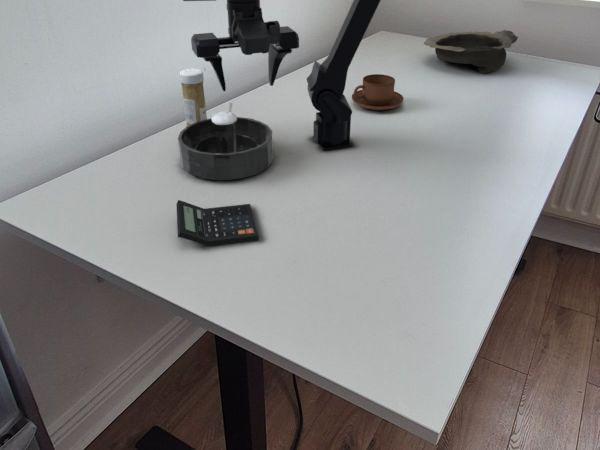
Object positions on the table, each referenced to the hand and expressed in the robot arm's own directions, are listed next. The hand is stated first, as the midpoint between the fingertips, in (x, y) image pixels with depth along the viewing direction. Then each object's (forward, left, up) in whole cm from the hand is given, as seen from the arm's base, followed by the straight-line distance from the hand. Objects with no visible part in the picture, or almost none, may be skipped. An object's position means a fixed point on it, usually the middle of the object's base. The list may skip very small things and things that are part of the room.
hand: (247, 87), depth 103 cm
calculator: (+13, +27, -12) cm, 32 cm away
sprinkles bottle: (+9, -9, -12) cm, 18 cm away
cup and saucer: (-34, -12, -12) cm, 38 cm away
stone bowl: (-72, -32, -12) cm, 80 cm away
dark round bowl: (+6, +5, -12) cm, 14 cm away
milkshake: (+6, +5, -12) cm, 14 cm away
